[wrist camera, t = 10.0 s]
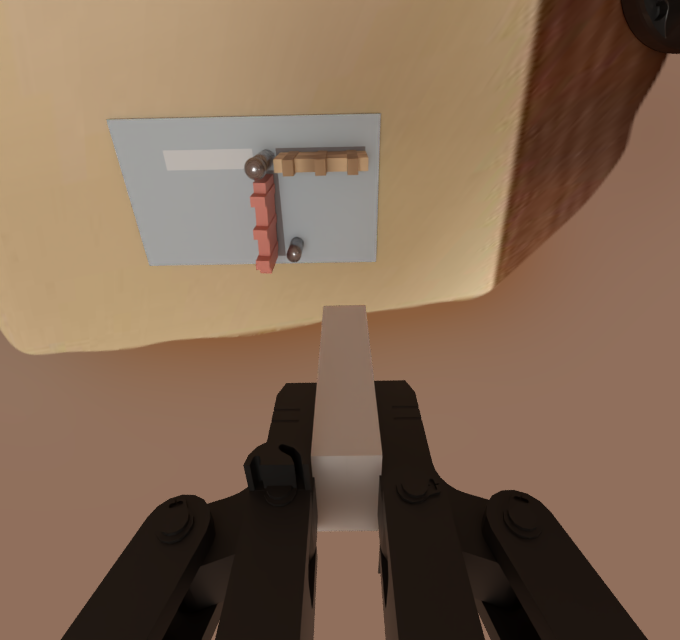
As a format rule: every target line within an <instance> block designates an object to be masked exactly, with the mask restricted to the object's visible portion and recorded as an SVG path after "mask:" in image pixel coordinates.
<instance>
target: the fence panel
mask: <svg viewBox="0 0 680 640" xmlns="http://www.w3.org/2000/svg"><path fill="white" fill-rule="evenodd" d="M253 190H254V193H253V194H252V195H251V196H250V204H251V207H255V213H256V226H255V228H254V229H253V237H254V240H258V248H259V255H258V257H257V259H256V270H260V272H261V273H272V271H273V268H274V266H275V263H276V261H277V258H278V241H277V231H276V223H277V216H276V213H275V197H274V194H275V184H274V179H273V174H265V176H264V177H263V178H262V179H260V180H255V181H254V182H253Z"/></svg>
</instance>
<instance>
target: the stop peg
mask: <svg viewBox="0 0 680 640" xmlns="http://www.w3.org/2000/svg"><path fill="white" fill-rule="evenodd" d="M303 246H304V241H303V240H302V239H301V238H299V237H294V238H293V239H292V240H291V242H290V245H289V248H288V251H287V259H288V260H289V261H290V262H298V261H299V260H300V258H301V255H302V250H303Z"/></svg>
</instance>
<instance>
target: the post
mask: <svg viewBox="0 0 680 640" xmlns="http://www.w3.org/2000/svg"><path fill="white" fill-rule="evenodd" d="M274 158H275V155H274V153H273V152H272V151H270V150H268V149H265V150H262V151H261V152H260V153H258V154H257V155H255V156H254V157H251V158H249V159H248V160H247V161H246V162H245V164H244V171H245V174H246V175H247V177H248V178H250V179H252V180H260V179H262V178H263V177H264V176H265V174H266V172H267V171H268V170H269V169H270V168H271V167H272V166H273V159H274Z"/></svg>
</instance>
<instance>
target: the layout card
mask: <svg viewBox="0 0 680 640" xmlns="http://www.w3.org/2000/svg"><path fill="white" fill-rule="evenodd" d="M380 117H381V114H380V113H376V114H330V115H285V116H240V117H194V118H149V119H107V124H108V127H109V130H110V134H111V137H112V141H113V144H114V147H115V151H116V154H117V157H118V161H119V164H120V168H121V171H122V174H123V178H124V181H125V184H126V188H127V191H128V195H129V198H130V201H131V205H132V208H133V211H134V215H135V218H136V222H137V225H138V228H139V232H140V235H141V238H142V242H143V245H144V249H145V252H146V255H147V259H148V262H149V265H150V266H159V265H215V264H256V259H257V257H258V255H259V248H258V240H254V237H253V229H254V228H255V226H256V213H255V207H251V204H250V196H251V195H252V194H253V193H254V190H253V182H254V181H255V180H252V179H250V178H248V177H247V175H246V174H245V171H244V164H245V162H246V161H247V160H248V159H249V158H251V157H254V156H255V155H257V154H258V153H260V152H261V151H262V150H265V149H268V150H270V151H272V152H273V153H274V155H275V157H276V156H277V155H278V154H279V153H281V152H289V151H299V152H318V151H327V152H329V151H346V150H356V151H366V153H367V155H368V171H358V175H347V171H344V172H327V173H326V176H315V172H296V173H295V175H294V176H284V177H283V173H274V165H273V166H272V167H271V168H270V169H269V170H268V171H267V172H266V174H273V179H274V184H275V194H274V197H275V213H276V216H277V223H276V231H277V241H278V258H277V261H276V263H328V262H376V245H377V213H378V181H379V149H380ZM294 237H299V238H301V239H302V240H303V241H304V246H303V250H302V255H301V258H300V260H299V261H298V262H290V261H289V260H288V259H287V251H288V248H289V245H290V242H291V240H292V239H293V238H294Z"/></svg>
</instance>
